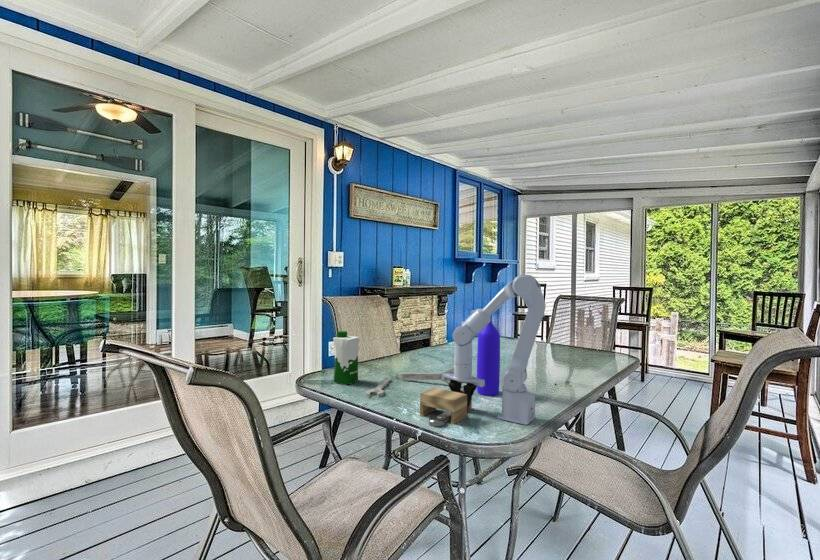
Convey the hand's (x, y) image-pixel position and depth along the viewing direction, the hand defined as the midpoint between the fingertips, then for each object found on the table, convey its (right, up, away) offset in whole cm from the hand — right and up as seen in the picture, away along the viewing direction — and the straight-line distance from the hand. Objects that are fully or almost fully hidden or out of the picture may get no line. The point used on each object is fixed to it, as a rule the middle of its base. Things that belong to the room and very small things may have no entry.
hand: (462, 405), depth 136 cm
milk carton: (-43, -1, +33) cm, 54 cm away
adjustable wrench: (-27, -2, +25) cm, 37 cm away
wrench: (-9, -2, +33) cm, 34 cm away
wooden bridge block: (-7, -2, -6) cm, 9 cm away
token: (-9, -2, -13) cm, 16 cm away
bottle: (+12, -2, +20) cm, 24 cm away
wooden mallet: (-3, -2, -4) cm, 5 cm away
